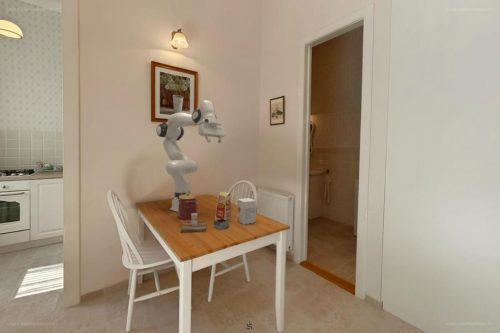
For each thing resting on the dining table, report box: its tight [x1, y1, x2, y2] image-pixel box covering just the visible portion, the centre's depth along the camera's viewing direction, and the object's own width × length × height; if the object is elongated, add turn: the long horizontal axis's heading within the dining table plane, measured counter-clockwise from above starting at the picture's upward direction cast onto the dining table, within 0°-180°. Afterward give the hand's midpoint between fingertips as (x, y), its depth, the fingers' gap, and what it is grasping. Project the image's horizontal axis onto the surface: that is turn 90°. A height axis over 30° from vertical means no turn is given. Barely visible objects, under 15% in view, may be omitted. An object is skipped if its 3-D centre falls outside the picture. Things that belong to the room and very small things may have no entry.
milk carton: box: [214, 189, 232, 221], centre depth 151 cm, size 9×9×20 cm
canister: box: [177, 192, 198, 220], centre depth 152 cm, size 13×13×18 cm
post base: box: [180, 212, 207, 234], centre depth 131 cm, size 14×14×8 cm
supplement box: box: [237, 197, 257, 226], centre depth 144 cm, size 9×9×15 cm
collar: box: [213, 219, 230, 231], centre depth 133 cm, size 6×6×4 cm
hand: (214, 142), depth 144 cm, fingers open, 8 cm apart
